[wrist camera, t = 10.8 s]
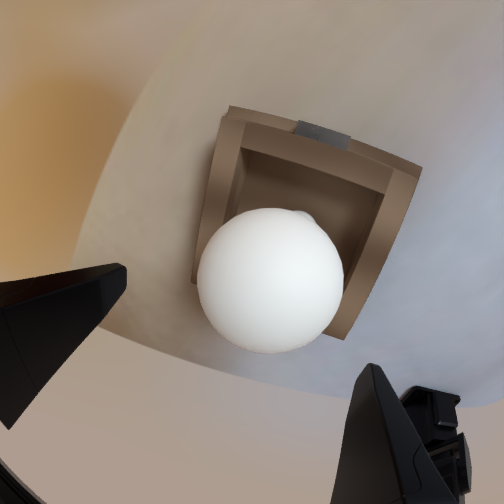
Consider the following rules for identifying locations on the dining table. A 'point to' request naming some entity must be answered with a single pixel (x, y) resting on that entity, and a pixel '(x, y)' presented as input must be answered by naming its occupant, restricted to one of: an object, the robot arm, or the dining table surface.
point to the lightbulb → (270, 280)
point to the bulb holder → (311, 193)
